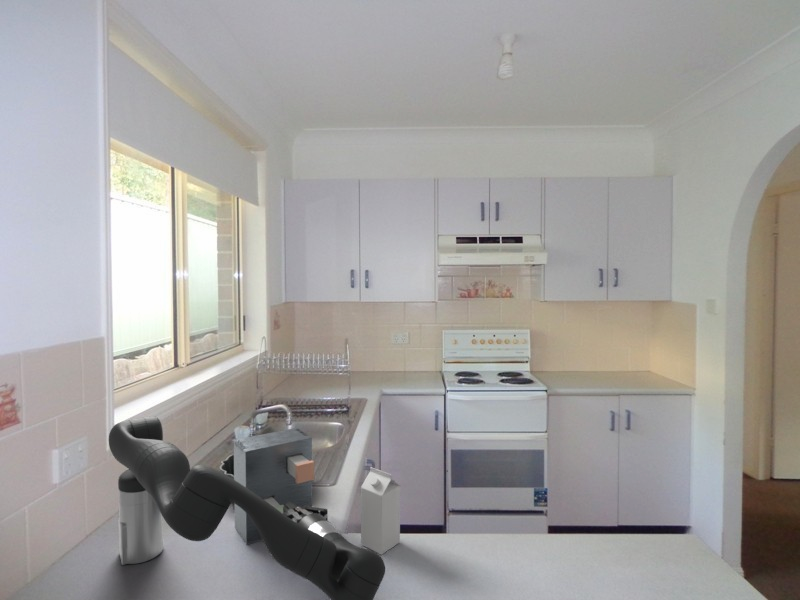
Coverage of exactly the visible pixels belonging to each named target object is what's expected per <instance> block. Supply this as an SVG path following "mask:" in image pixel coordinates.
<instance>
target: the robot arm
mask: <svg viewBox="0 0 800 600" xmlns="http://www.w3.org/2000/svg"><path fill="white" fill-rule="evenodd" d="M163 432H164V431H163V426H162V422H161V420H160V419H159V417H157V416H154V415H151V416H145V417H139V418H135V419H130V420H124V421H121V422H117V423H116V424H114V426H112V427H111V429H110V431H109V434H108V446H109V450H110V452H111V454H112V456H113V457H114V459H115V460H116V461H117V462H119V464H121V465H123V466H124V467H125V468H127V469H126V470H124V471H123V472H122V473H120V475H119V476H118V479H117V480H118V483H117V484H118V516H117V517H118V518H117V520H118V555H119V558H120V564H121V565H122V566H124V565H127V564H130V565H133V564H140V563H141V564H142V563H145V562H147V561H151V560H153V559H155V558H156V557H158V556H159V555H160V554H161V553H162V552H163V550H164V529H163V526H164V523H163V520H164V521H165V523H166V524H167V525H168V526H169V528H170V529H171V530H173V531H174V532H175V533H176V534H177V535H179V536H180V537H182V538H183V539H186V540H188V541H192V542H203V541H205V540H208V539H209V538H210V537H211V536H212V535H213V533H215V531H216V530H217V529H218V527H219V525H220V524H221V521H222V520H223V518H224V517H225V514H226V513H227V511H228V509H229V508H230V506H231V505H232V504H234V503H235V504H236V505H238V506H239V507H240V508H242V509H243V510H244V511H245V512H246V513H247V514H248V515H249V517H250V518H251V519H252V521H253V523H254V524H255V526H256V527H257V529H258V531H259V533H260V535H261V537H262V541H263V543H264V545H265V547H266V549H267V551H268V553H269V554H270V556H271V557H272V559H273V560H274V561H275V562H277V563H278V565H280V566H281V567H283V568H284V569H286V570H287V571H290V572H292V573H294V574H295V575H298V576H300V577H302V578H304V579H305V580H307V581H309V582H311V583H312V584H314V585H315V586H316V587H317V588H319V590H321V591H322V592H323V593H324V594H325V595H326V596H327V597H328V598H329V599H331V600H374V598H375V596H376V594H377V592H378V590H379V587H380V586H381V583H382V581H383V579H384V577H385V575H386V565H385V562H384V560H383V558H382V557H381V554H379V553H377V552H375V551H373V550H371V549H369V548H368V549H367V548H364V547H360V546H358V545H357V546H356V545H354V544H352V543H351V542H350V541H348V540H347V538H345V537H344V535H342V534H341V533H340V531H339V530H338V529H337V528H336V527H335V525H333V524H332V523H331V522H330V521H329V519H328V517H329V516H328V515H329V513H328V508H325V507H316V506H312V507H310V506H304V508H303V509H301V508H300V507H297V506H296V505H295V504H292V503H291V502H289V503H286V504H284V506H283V513H281V512H280V511H278V510H277V509H276V508H274V507H273V506H272V505H270V504H269V503H268V502H266V501H265V500H263V499H262V498H260V497H259V496H258V495H256V494H255V493H253V492H252V491H250V490H249V489H247V488H246V487H244V486H243V485H241V484H240V483H238V482H237V481H235V480H234V479H232V478H231V477H229V476H227V475H226V474H224V473H222V472H221V471H220V470H218V469H216V468H213V467H211V466H208V465H203V464H197V465H194V466H193V467H192V468H191V466H190V465H191V464H190V462H189V459H188V456H186V454H185V453H184V452H183V451H182V450H180V448H178V446H176V445H174V444H173V443H171V442H169V441H166V440H164V433H163ZM309 511H312V513H311V512H310V513H309Z"/></svg>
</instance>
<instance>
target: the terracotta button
mask: <svg viewBox="0 0 800 600" xmlns="http://www.w3.org/2000/svg"><path fill="white" fill-rule="evenodd" d="M286 471H287V472H288V473H290V474H291V475H292V476H293V477H294V478H295V479H296V483H297V484H299V483H302V482H306V481H310V480H312V481H313V480H315V461H314V460H313V459H312V460H311V461H309V460H307V459H306V458H305V457H303V456H302V455H301V454H296V455H292V456H288V457H286Z"/></svg>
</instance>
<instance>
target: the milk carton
mask: <svg viewBox="0 0 800 600" xmlns="http://www.w3.org/2000/svg"><path fill="white" fill-rule="evenodd" d="M369 469H370V470H369V473H368V474H367V476H366V478H365V479H364V481H363V483H362V484H361V486H360V544H361V545H362V546H364V547H366V549H367V548H368V550H371V551H373V552H375V553H377V554H378V555H380V556H381V555H383V554H385V553H386V552H387V551H389V550H390V549H392V548H394V547H395V546H396V545H398V544H399V543H400V542H401V485H400V484H399V483H398V482H396V481H395V480H393V478H392V474H391V473H390V472H389V473H388V472H386V471H383V470H380V469H377V468H374V467H371V466H370V468H369Z"/></svg>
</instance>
